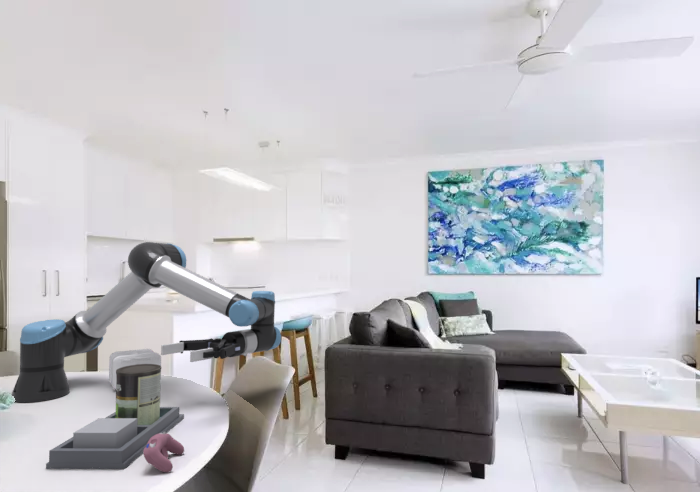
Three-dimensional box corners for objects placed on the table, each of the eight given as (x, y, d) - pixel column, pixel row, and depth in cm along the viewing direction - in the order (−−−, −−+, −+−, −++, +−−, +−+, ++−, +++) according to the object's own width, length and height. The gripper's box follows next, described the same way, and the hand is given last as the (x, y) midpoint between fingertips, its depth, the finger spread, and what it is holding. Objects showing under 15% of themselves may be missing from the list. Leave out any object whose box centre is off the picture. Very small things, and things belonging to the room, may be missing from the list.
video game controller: (167, 461, 96) (152, 432, 96) (186, 450, 97) (172, 421, 97) (151, 482, 86) (135, 450, 86) (173, 471, 87) (157, 439, 87)
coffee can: (112, 435, 104) (114, 374, 104) (116, 421, 113) (117, 365, 114) (160, 429, 108) (161, 370, 108) (160, 416, 117) (161, 362, 118)
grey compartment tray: (45, 468, 89) (46, 438, 90) (125, 417, 120) (125, 395, 120) (124, 468, 89) (125, 438, 89) (183, 417, 119) (184, 395, 120)
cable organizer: (155, 379, 161) (156, 347, 162) (161, 386, 152) (161, 352, 153) (108, 386, 153) (109, 352, 154) (111, 393, 144) (112, 357, 145)
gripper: (266, 361, 129) (204, 374, 111) (212, 350, 143) (150, 361, 126) (267, 335, 129) (205, 344, 112) (213, 327, 144) (151, 334, 126)
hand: (175, 353), depth 119 cm, fingers open, 13 cm apart
